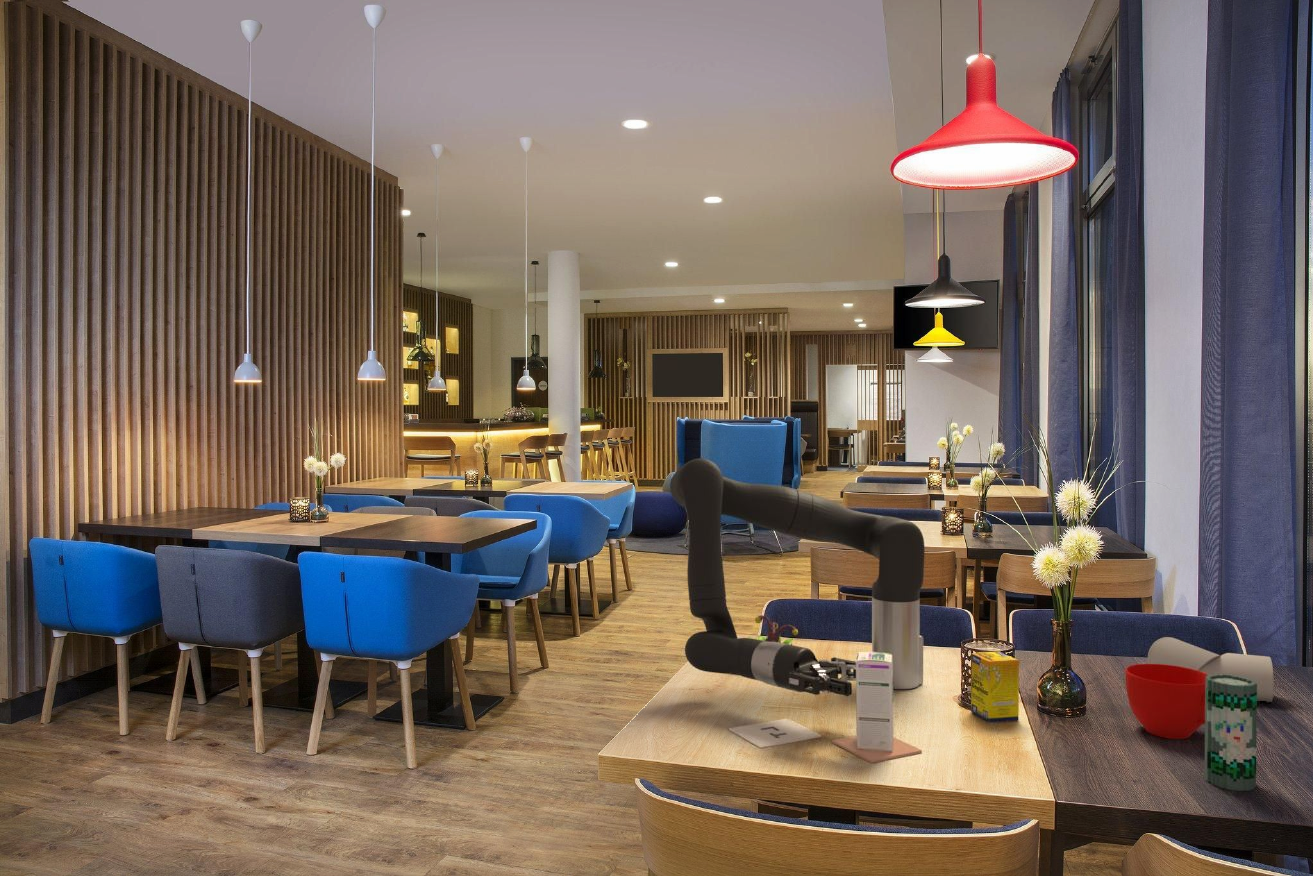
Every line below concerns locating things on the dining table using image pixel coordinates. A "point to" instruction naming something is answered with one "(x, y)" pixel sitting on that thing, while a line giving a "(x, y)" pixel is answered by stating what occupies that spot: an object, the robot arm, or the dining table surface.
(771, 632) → the plant
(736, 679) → the dining table surface
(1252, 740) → the can
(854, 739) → the coaster
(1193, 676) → the ceramic cup
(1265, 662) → the elbow connector
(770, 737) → the white square plate
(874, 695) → the syrup box
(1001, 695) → the supplement box
